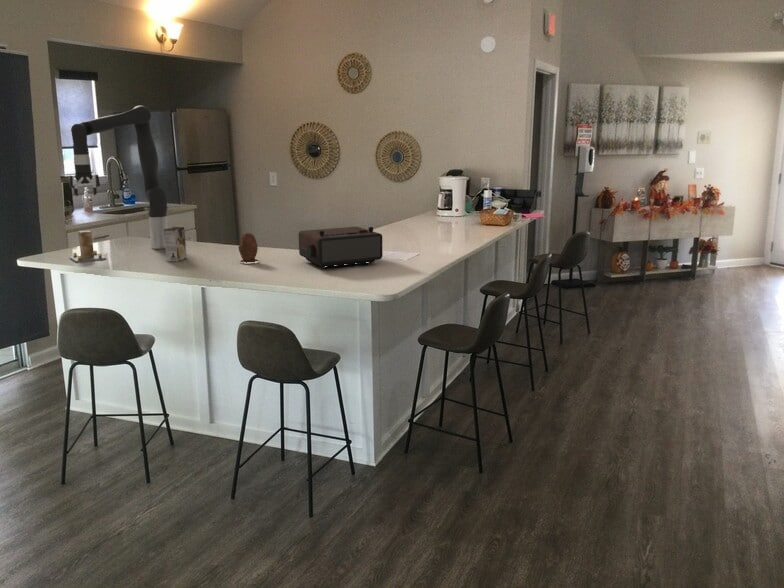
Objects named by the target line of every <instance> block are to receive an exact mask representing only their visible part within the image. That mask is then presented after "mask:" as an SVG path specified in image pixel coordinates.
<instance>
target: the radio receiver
mask: <svg viewBox="0 0 784 588" xmlns="http://www.w3.org/2000/svg"><path fill="white" fill-rule="evenodd" d="M298 253H299V256H301V257H303V258H305V259H306V261H307V260H308V261H307V262H309V261H310V262H309V263H311V262H312V264H313V263H314V265H315V264H316V265H315V266H317V265H319V266H318V267H320V266H321V267H320V268H322V267H325V266H334V265H344V264H355V263H364V264H366V262H373V263H374V262H375V261H376V260H377V261H378V260H382V259H383V255H384V254H383V234H382V233H379V232H377V231H374V227H373V226H368V229H367V228H362V227H359V226H347V227H335V228H323V229H320V228H319V229H311V230H310V229H309V230H300V231H299V232H298ZM355 265H356V264H355Z"/></svg>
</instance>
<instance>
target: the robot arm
mask: <svg viewBox="0 0 784 588" xmlns="http://www.w3.org/2000/svg"><path fill="white" fill-rule="evenodd" d="M151 117H152V113H151V111H150V109H148V107H146V106H144V105H136V106H134V107H133V108H132V109H129V110H128V111H125V112H122V113H116V114H112V115H107V116H106V115H105V116H102V117H101V116H100V117H98V118H93V119H90V120H88V121H82V122H77V123H73V125H72V126H71V127H70V128H71V130H70V131H71V138H72V142H73V143H72V148H73V149H72V150H73V163H74V173H75V174H74V175H69V176H68V185H69V188H72V189H73V193H74V195H75V196H76V197H78V196H79V191H78V188H79V186H80V185H83V184H87V185H88V184H89V185H91V186H92V195H93V196H96V194H97V193H98V192H97V191H98V190H97V188H98V187H100V186H101V185H100V184H101V183H100V178H99V174H92V166H91V165H92V164H91V158H90V151H89V146H88V136H89V135H94V134H100V133H104V132H108V131H113V130H115V129H117V128H121V127H124V126H125V127H126V126H130V125H134V130H135V133H136V144H137V145H136V146H137V151H138V152H137V153H138V158H139V163H140V167H141V172H142V177H143V183H144V194H145V198H146V200H147V202H149V210H148V222H149V233H150V234H149V236H150V247H151V249H154V250H155V249H156V250H159V249H160V250H162V249H165V238H164V229H167V228H169V227H168V218H167V213H168V200H167V193H166V191H165V189H164V188H162V187H161V186H160V183H159V177H158V176H159V175H158V171H159V158H158V157H159V156H158V152H157V148H156V144H155V140H154V139H153V136H152V130H151V124H150V120H151ZM75 179H76V182H75V184H74V180H75ZM93 179H94V180H95V183H94V182H93V181H92V180H93Z"/></svg>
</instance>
